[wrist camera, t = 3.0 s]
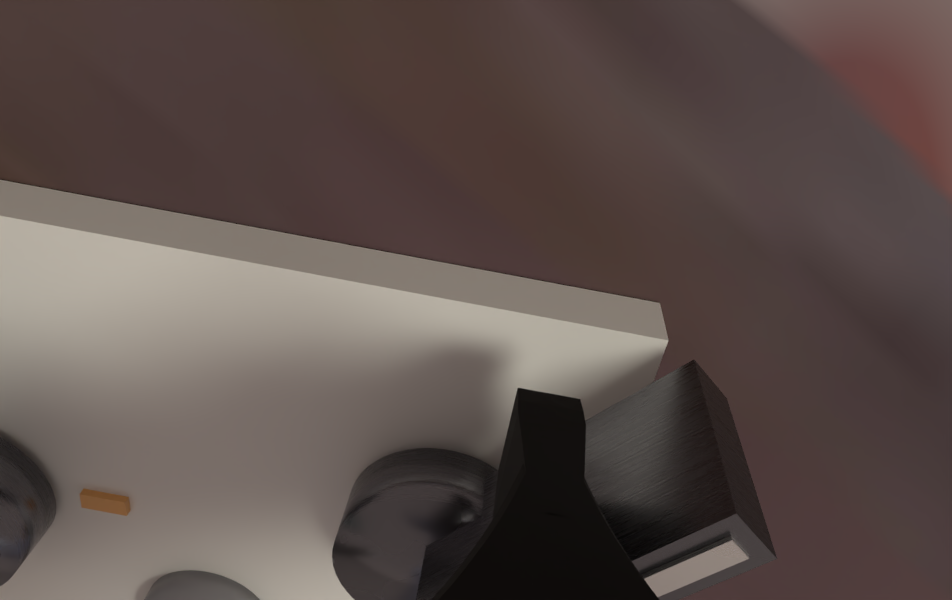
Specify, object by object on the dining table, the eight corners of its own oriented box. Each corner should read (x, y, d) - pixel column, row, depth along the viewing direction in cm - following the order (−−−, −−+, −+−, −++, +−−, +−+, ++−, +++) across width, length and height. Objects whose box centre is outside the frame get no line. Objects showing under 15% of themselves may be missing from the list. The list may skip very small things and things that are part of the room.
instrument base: (535, 666, 24) (533, 737, 22) (-75, 552, 24) (-131, 614, 22) (659, 303, 16) (673, 361, 14) (-221, 138, 16) (-325, 175, 14)
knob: (432, 597, 20) (401, 777, 16) (312, 500, 18) (246, 672, 14) (762, 434, 16) (829, 619, 12) (645, 293, 14) (677, 452, 10)
